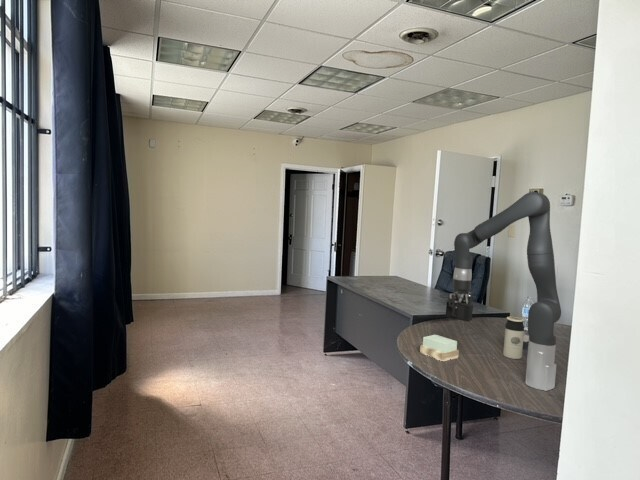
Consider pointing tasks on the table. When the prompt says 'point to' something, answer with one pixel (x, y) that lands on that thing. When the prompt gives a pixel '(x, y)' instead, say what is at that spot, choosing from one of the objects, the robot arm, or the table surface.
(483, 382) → the table surface
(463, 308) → the digital camera
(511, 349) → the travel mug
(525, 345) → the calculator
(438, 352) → the block bottom
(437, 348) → the block top
